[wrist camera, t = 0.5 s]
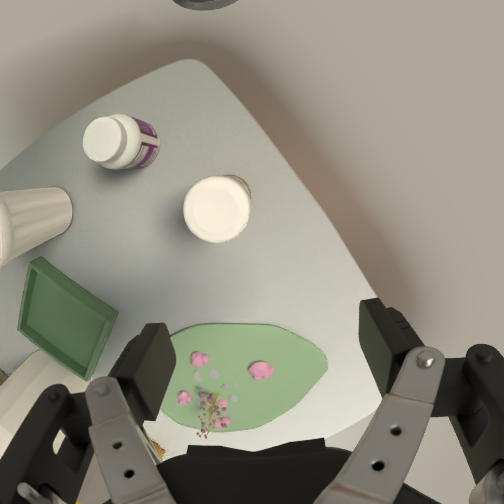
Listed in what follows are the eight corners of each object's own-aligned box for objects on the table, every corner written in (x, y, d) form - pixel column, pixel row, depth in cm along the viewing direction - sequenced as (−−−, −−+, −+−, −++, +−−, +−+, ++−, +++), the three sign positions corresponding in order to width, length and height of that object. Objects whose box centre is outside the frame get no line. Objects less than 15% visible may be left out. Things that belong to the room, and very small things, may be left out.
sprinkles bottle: (256, 182, 32) (260, 189, 19) (242, 221, 33) (236, 254, 20) (216, 168, 32) (194, 166, 19) (203, 207, 33) (172, 231, 20)
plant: (275, 275, 35) (282, 309, 26) (344, 385, 39) (360, 428, 31) (122, 359, 38) (99, 399, 30) (206, 442, 43) (200, 483, 34)
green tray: (26, 322, 37) (17, 329, 34) (41, 256, 34) (29, 261, 31) (93, 372, 39) (86, 382, 36) (118, 312, 36) (110, 321, 34)
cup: (89, 199, 32) (12, 220, 19) (66, 252, 34) (-5, 291, 20) (48, 168, 31) (-30, 175, 17) (28, 220, 33) (-44, 245, 19)
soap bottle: (65, 451, 47) (32, 514, 26) (89, 442, 44) (54, 518, 24) (107, 482, 49) (84, 546, 29) (136, 476, 47) (114, 550, 27)
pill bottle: (116, 129, 30) (73, 118, 21) (158, 117, 30) (124, 100, 21) (122, 173, 32) (79, 176, 22) (164, 163, 31) (131, 161, 22)
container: (92, 424, 43) (56, 494, 25) (31, 388, 41) (-15, 445, 24) (98, 376, 39) (48, 457, 22) (28, 334, 38) (-35, 394, 20)
